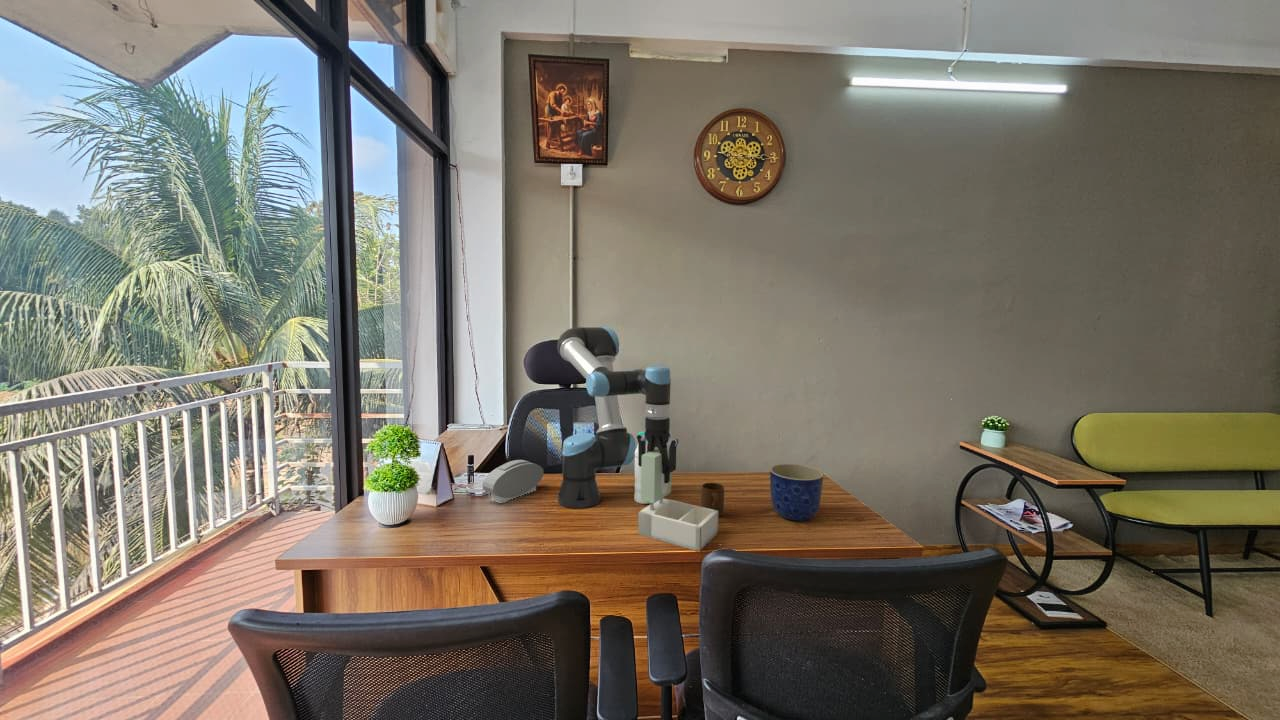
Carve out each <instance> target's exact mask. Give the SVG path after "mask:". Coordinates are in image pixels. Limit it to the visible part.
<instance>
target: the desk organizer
mask: <svg viewBox="0 0 1280 720" xmlns="http://www.w3.org/2000/svg"><path fill="white" fill-rule="evenodd" d="M637 525H638V528H637V531H638V535H639V536H642V537H646V538H649V539H652V540H656V541H660V542H663V543H666V542H667V543H666V544H671V545H673V546H678V547H682V548H685V549H689V550H691V551H695V550H699V551H700V550H701V548H702V547H703V548H705V546H706V545H707V544H709V543H710V542H711V540H712V539H713V538H715V536H716V535H718V533H719V517H718V510H713V509H709V508H704V507H701V505H694V504H691V503H687V502H681V501H679V500H675V499H674V500H672V499H670V498H665V497H663V498H662V499H660V500H659V501H657V502H656V503H649V505H647V506H646V507H644V508H643V509H641V510H640V511H638V523H637ZM703 548H702V549H703ZM699 551H698V552H699ZM700 552H701V551H700Z"/></svg>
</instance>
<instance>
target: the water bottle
mask: <svg viewBox="0 0 1280 720" xmlns="http://www.w3.org/2000/svg"><path fill="white" fill-rule="evenodd" d="M644 433H645V431H638V434H637V436H638V435H640V434H644ZM645 441H646V453H647V446H648V441H647V439H646V440H645ZM633 498H634V501H635V503H637V504H640V505H648V504H649V505H650V502H646V501H641V467H640V466H639V465H638V444H637V445H636V449H635V456H634V497H633Z"/></svg>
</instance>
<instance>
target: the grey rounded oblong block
mask: <svg viewBox="0 0 1280 720" xmlns="http://www.w3.org/2000/svg"><path fill="white" fill-rule="evenodd" d="M544 472H545V471H544V468H543V467H541V465H539V464H537V463H533V462H530V461H528V460H524V459H515V460H511V461H508V462H505V463H503V464H502V465H499V466H498V467H496V468H495V469H493V470H492V471H490V472H489V473H488V474H487V475H486V477H485V478H484V480H483V481H482V489H483V490H484V492H486V493H488V494H489V495H490V494H491V495H492V496H491V501H492V500H493V501H496V502H499V503H501V502H504V501H507V500H510V499H512V500H514V499H513V498H515V499H517V498H516V497H518V496H520V497H523V496H525V495H524V494H526V495H528V494H530V492H531V493H533V491H534V492H536V491H537V485H538V484H539V483H540V482H541V481H542V479H543V477H544ZM527 493H528V494H527ZM522 495H523V496H522ZM518 498H519V497H518ZM493 501H492V502H493ZM510 501H511V500H510ZM507 502H508V501H507ZM504 503H505V502H504Z"/></svg>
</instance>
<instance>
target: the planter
mask: <svg viewBox="0 0 1280 720" xmlns="http://www.w3.org/2000/svg"><path fill="white" fill-rule="evenodd" d="M824 476H825V475H824V472H823V471H821V470H820V469H818V468H816V467H813V466H809V465H804V464H800V463H799V464H798V463H778V464H774V465H772V466H770V468H769V485H770V486H769V487H770V488H769V489H770V502H771V505H772V508H773V509H774V511H775V513H777V514H778V515H779V516H780V517H782V518H784V519H786V520H790V521H795V522H796V521H798V522H800V521H801V522H803V521H808V520H811V519H813V517H815V516H816V514H818V511H819V509H820V506H821V498H822V491H823V484H824Z"/></svg>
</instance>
